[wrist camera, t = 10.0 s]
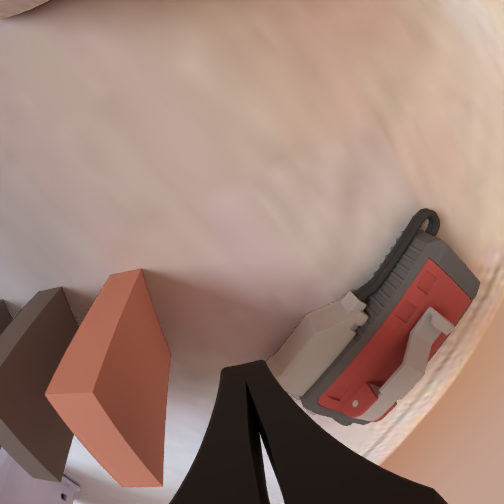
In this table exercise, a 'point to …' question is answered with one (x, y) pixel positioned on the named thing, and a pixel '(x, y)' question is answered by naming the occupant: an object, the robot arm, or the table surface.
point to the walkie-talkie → (378, 331)
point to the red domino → (117, 383)
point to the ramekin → (17, 6)
